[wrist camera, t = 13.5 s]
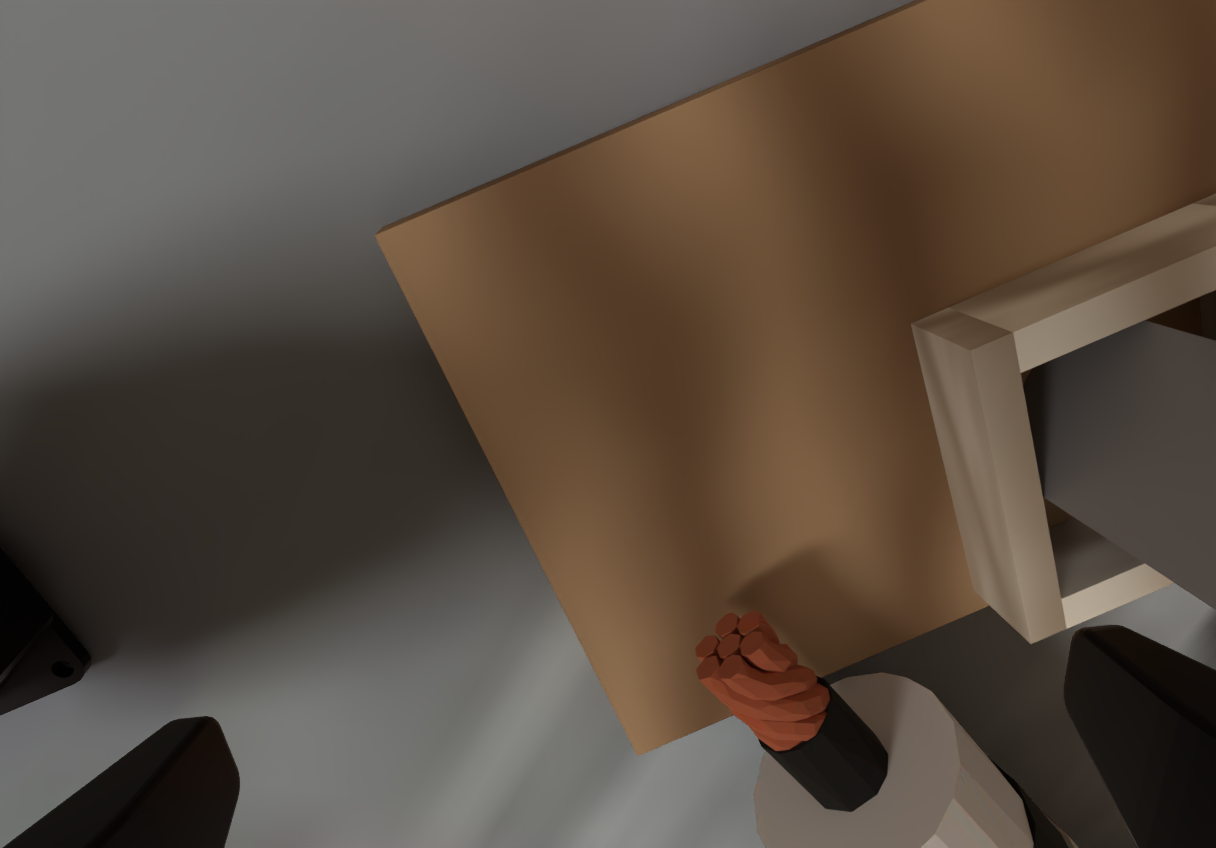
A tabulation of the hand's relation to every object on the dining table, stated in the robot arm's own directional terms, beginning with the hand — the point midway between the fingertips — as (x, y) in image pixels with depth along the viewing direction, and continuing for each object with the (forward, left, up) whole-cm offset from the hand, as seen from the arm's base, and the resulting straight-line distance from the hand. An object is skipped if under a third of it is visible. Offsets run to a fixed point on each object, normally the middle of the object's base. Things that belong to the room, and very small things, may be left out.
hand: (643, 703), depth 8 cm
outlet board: (+8, -3, -12) cm, 15 cm away
